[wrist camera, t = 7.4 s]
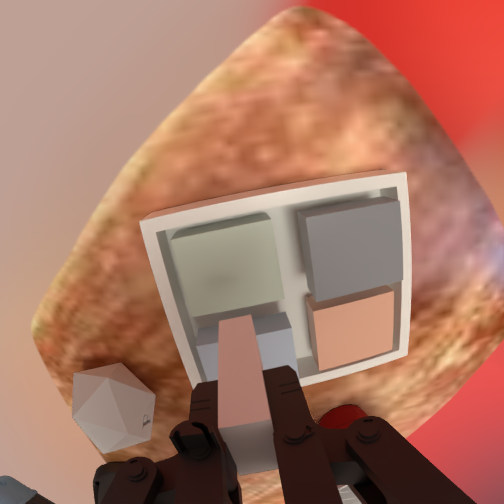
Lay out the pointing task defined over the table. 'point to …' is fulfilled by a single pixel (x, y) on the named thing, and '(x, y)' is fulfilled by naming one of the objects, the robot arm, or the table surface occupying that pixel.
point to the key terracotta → (351, 326)
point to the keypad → (290, 262)
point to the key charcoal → (351, 246)
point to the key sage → (228, 264)
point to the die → (112, 407)
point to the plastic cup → (342, 420)
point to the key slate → (268, 337)
